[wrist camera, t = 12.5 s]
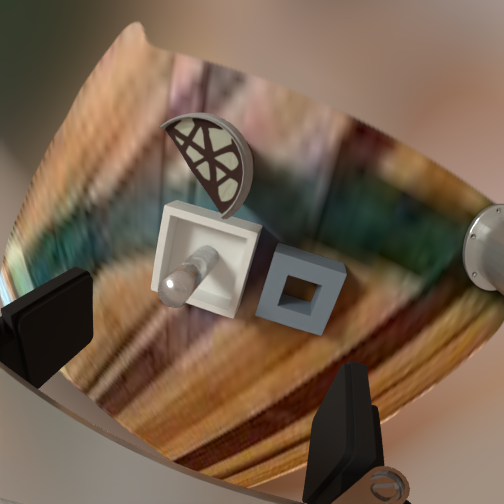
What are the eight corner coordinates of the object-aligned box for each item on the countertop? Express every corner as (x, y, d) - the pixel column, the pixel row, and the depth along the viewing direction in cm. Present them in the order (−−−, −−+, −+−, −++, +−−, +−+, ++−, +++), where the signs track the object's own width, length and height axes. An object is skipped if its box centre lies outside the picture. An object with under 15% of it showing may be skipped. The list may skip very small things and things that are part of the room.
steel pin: (221, 249, 43) (189, 285, 31) (215, 271, 44) (183, 312, 32) (198, 241, 43) (160, 274, 32) (193, 263, 44) (155, 301, 33)
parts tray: (262, 225, 42) (257, 233, 38) (239, 305, 46) (233, 318, 42) (177, 200, 43) (164, 205, 39) (162, 278, 47) (150, 289, 43)
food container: (283, 180, 40) (274, 189, 30) (242, 206, 41) (222, 223, 32) (229, 100, 38) (204, 86, 28) (190, 128, 39) (156, 123, 30)
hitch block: (343, 263, 41) (346, 274, 37) (320, 320, 44) (321, 335, 40) (278, 242, 42) (274, 251, 38) (259, 302, 45) (254, 315, 41)
